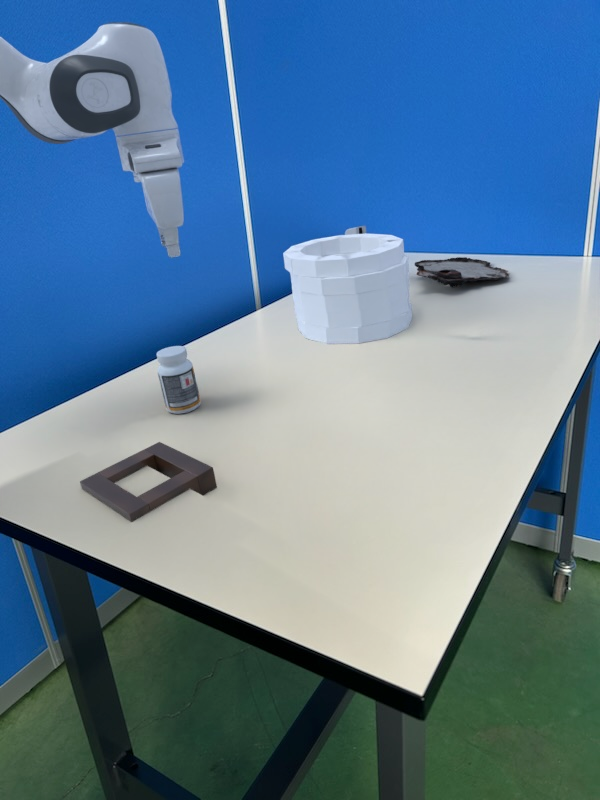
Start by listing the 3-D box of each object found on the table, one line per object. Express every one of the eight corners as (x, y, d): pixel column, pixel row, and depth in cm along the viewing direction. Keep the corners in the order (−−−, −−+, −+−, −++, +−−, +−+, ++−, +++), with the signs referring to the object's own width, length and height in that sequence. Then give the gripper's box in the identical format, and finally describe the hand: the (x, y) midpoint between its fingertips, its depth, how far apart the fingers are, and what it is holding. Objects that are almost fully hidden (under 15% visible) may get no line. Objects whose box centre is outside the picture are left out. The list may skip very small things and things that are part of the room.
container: (271, 332, 132) (260, 256, 125) (342, 301, 146) (336, 231, 139) (363, 351, 115) (356, 265, 108) (434, 314, 130) (432, 236, 123)
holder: (135, 535, 71) (129, 514, 70) (85, 501, 79) (79, 481, 78) (217, 487, 78) (213, 467, 77) (164, 460, 86) (159, 441, 85)
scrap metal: (428, 264, 169) (397, 288, 144) (430, 249, 167) (399, 271, 142) (514, 276, 161) (498, 304, 136) (517, 261, 159) (502, 286, 134)
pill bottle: (208, 403, 102) (197, 346, 98) (182, 418, 98) (169, 359, 94) (184, 397, 105) (173, 342, 101) (159, 411, 101) (145, 354, 97)
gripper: (126, 155, 98) (145, 244, 103) (132, 159, 80) (155, 266, 85) (166, 150, 99) (183, 237, 105) (181, 153, 81) (201, 258, 87)
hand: (171, 251), depth 95 cm, fingers open, 8 cm apart
